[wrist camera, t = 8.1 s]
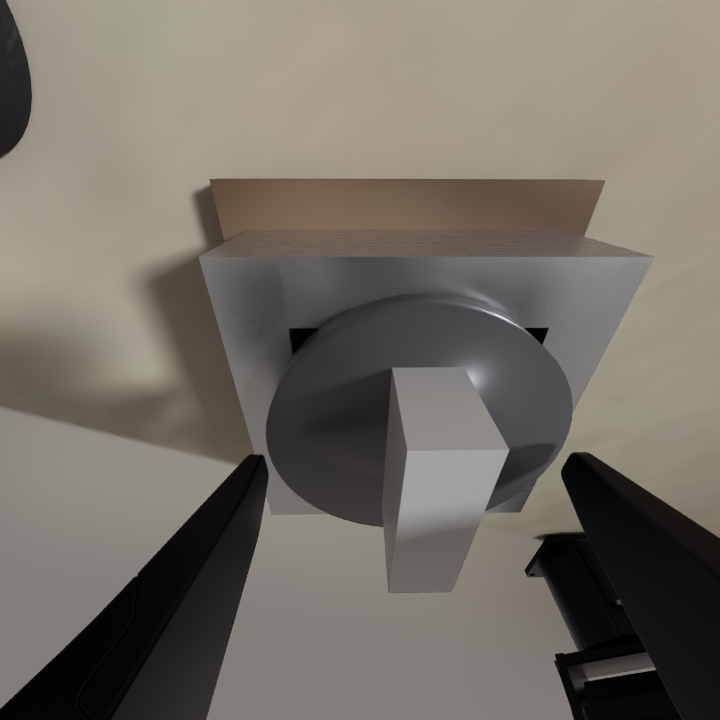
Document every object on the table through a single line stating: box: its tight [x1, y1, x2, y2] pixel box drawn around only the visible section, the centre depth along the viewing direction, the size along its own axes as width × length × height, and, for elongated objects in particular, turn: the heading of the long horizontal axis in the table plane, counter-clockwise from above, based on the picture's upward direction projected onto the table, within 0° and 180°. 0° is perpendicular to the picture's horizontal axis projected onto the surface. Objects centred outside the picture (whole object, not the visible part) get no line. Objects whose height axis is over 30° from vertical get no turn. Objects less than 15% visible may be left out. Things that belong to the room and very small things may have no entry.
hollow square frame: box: [199, 229, 654, 515], centre depth 12 cm, size 11×11×4 cm
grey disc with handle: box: [266, 293, 573, 593], centre depth 10 cm, size 9×9×7 cm
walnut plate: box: [210, 179, 605, 333], centre depth 14 cm, size 14×13×1 cm
